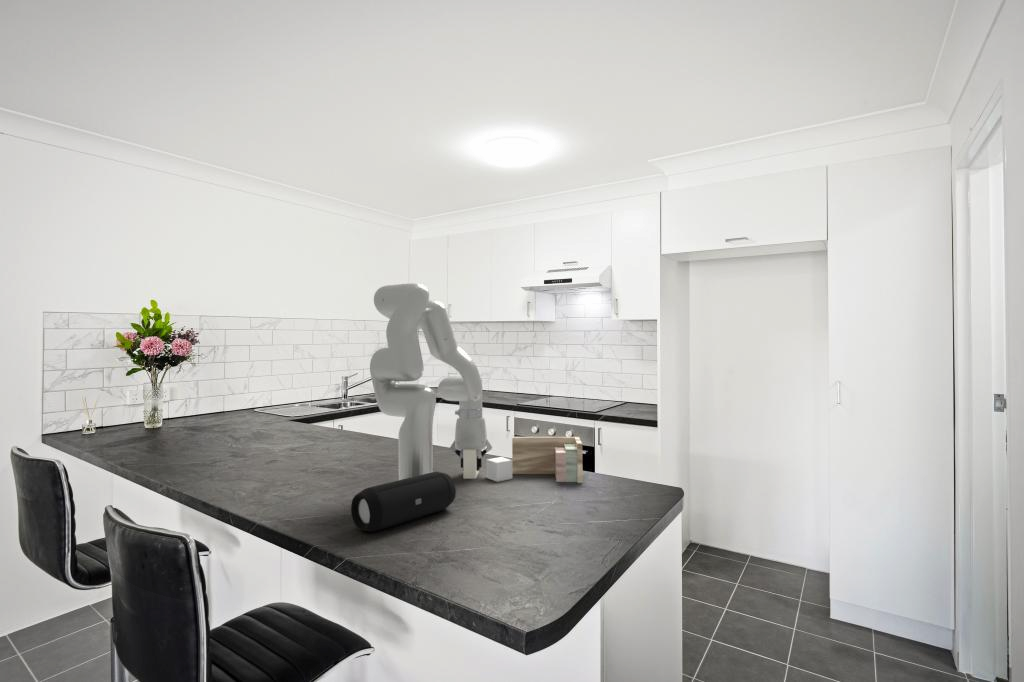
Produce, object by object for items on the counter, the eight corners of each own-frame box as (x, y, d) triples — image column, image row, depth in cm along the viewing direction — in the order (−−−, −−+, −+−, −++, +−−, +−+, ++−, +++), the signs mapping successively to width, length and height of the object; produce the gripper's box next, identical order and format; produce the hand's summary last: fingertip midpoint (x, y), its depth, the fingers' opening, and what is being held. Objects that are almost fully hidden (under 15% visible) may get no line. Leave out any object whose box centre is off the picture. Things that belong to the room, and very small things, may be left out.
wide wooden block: (582, 482, 163) (582, 443, 163) (511, 482, 164) (510, 443, 164) (579, 473, 175) (578, 436, 175) (512, 472, 176) (512, 436, 176)
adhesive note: (496, 482, 165) (496, 462, 165) (486, 478, 170) (486, 459, 170) (512, 478, 169) (512, 460, 169) (501, 475, 174) (501, 456, 174)
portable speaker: (372, 539, 118) (372, 494, 118) (348, 529, 124) (348, 486, 124) (458, 511, 137) (458, 473, 137) (433, 504, 143) (433, 467, 143)
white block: (475, 478, 169) (475, 450, 169) (463, 478, 170) (463, 450, 170) (478, 471, 178) (478, 444, 178) (466, 471, 178) (466, 444, 179)
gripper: (443, 415, 171) (444, 472, 170) (495, 415, 170) (495, 472, 170) (447, 412, 178) (447, 467, 178) (497, 412, 177) (497, 467, 177)
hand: (471, 469), depth 174 cm, fingers closed on white block, 4 cm apart
